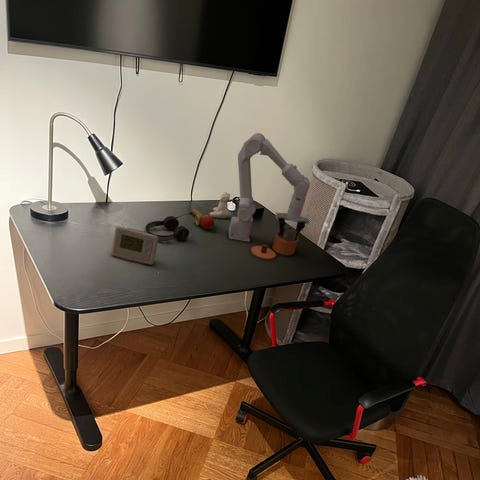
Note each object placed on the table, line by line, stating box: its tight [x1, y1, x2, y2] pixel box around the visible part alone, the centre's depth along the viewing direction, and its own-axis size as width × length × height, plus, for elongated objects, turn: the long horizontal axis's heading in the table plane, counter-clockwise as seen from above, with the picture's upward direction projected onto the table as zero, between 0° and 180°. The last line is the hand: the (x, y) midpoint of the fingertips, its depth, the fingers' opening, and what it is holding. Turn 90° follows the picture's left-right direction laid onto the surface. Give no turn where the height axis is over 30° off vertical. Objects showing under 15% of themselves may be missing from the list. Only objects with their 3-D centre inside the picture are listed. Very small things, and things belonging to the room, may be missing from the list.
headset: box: [144, 211, 193, 242], centre depth 196 cm, size 14×10×20 cm
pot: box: [271, 231, 299, 256], centre depth 208 cm, size 10×10×7 cm
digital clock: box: [110, 225, 159, 266], centre depth 173 cm, size 16×9×11 cm, turn 72°
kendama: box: [191, 208, 215, 231], centre depth 214 cm, size 8×6×18 cm
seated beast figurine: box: [209, 192, 231, 219], centre depth 223 cm, size 10×9×12 cm
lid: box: [250, 243, 277, 260], centre depth 201 cm, size 11×11×4 cm
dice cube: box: [279, 225, 297, 241], centre depth 205 cm, size 5×5×5 cm
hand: (287, 236), depth 206 cm, fingers closed on dice cube, 6 cm apart
